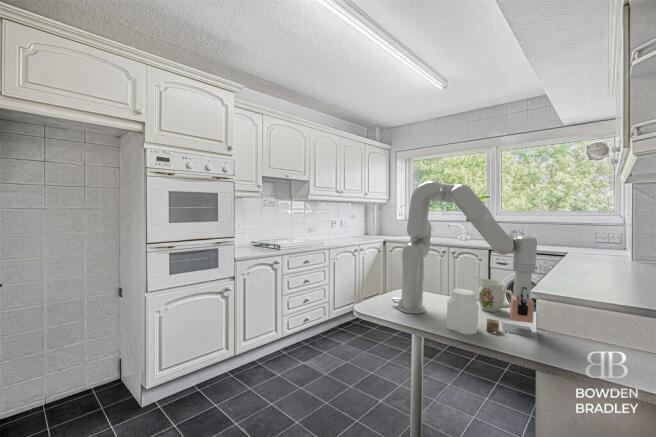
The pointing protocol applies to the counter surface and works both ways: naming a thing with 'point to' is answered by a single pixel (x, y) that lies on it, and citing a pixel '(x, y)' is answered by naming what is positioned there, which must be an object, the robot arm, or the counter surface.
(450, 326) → the jar
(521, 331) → the mat
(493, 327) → the block
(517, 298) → the salmon pink block
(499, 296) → the pitcher
